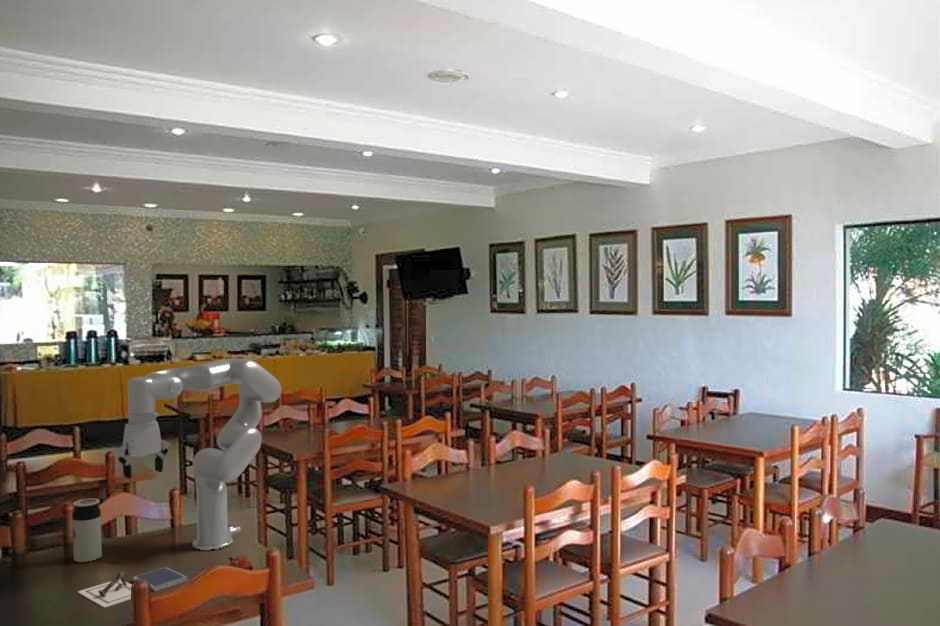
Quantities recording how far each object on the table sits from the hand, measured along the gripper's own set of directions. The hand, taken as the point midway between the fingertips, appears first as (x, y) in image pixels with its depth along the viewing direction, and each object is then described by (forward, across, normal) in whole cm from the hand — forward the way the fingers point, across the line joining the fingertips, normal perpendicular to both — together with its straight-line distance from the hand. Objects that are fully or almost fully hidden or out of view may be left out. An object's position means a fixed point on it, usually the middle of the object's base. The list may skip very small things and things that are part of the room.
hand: (143, 474), depth 237 cm
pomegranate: (+29, -12, +32) cm, 45 cm away
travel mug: (+28, +8, -21) cm, 36 cm away
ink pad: (+28, +3, +14) cm, 32 cm away
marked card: (+28, +16, +12) cm, 35 cm away
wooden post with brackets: (+28, +16, +12) cm, 34 cm away
